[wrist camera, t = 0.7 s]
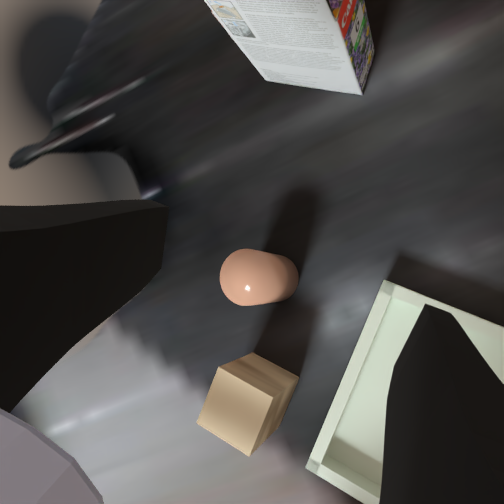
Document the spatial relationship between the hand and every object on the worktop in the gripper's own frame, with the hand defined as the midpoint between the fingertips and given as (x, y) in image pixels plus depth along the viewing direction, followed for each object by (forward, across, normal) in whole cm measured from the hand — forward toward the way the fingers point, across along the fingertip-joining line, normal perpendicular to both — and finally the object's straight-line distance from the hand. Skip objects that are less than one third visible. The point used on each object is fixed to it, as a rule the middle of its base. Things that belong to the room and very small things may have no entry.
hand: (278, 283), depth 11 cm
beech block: (+14, +1, +18) cm, 23 cm away
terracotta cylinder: (+18, +3, +10) cm, 21 cm away
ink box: (+25, +6, -4) cm, 26 cm away
